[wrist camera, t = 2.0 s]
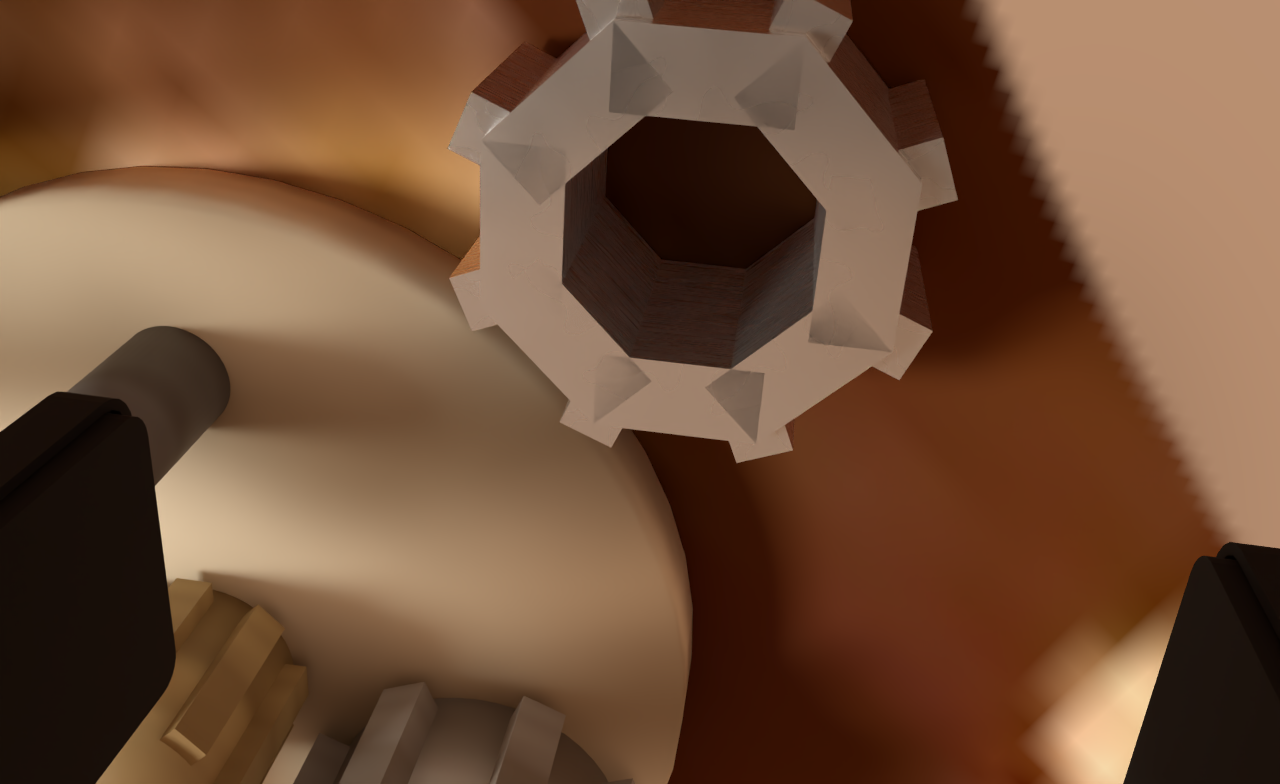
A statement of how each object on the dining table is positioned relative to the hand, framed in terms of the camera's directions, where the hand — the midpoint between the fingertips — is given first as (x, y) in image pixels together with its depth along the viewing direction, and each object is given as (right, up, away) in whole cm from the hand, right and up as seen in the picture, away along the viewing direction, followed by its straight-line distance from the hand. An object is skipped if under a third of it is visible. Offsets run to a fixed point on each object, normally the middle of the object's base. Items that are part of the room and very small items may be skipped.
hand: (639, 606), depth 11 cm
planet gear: (+1, +6, +10) cm, 11 cm away
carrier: (-8, -2, +15) cm, 18 cm away
